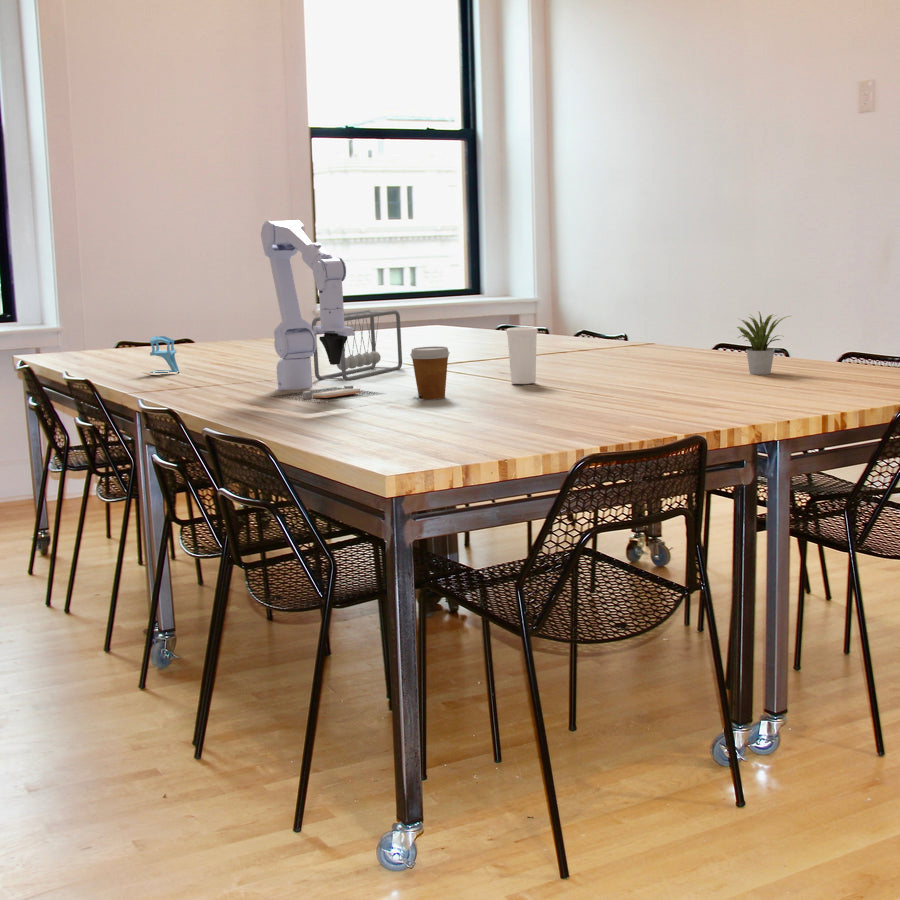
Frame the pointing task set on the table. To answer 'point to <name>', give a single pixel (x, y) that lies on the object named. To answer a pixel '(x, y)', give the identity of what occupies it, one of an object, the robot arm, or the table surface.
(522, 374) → the cup
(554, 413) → the table surface
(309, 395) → the board
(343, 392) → the tile
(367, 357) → the newton's cradle
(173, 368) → the chair
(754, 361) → the house plant
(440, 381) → the disposable coffee cup
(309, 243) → the robot arm
